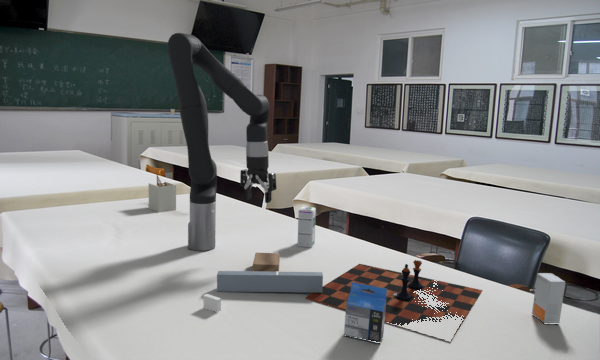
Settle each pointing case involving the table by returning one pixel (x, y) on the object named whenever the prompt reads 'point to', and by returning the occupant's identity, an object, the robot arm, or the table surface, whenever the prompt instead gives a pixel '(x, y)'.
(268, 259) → the block
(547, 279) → the skincare box
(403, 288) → the chessboard
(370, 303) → the label tape cartridge
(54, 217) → the table surface
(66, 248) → the table surface
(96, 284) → the table surface
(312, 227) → the syrup box
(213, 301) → the eraser
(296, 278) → the board
